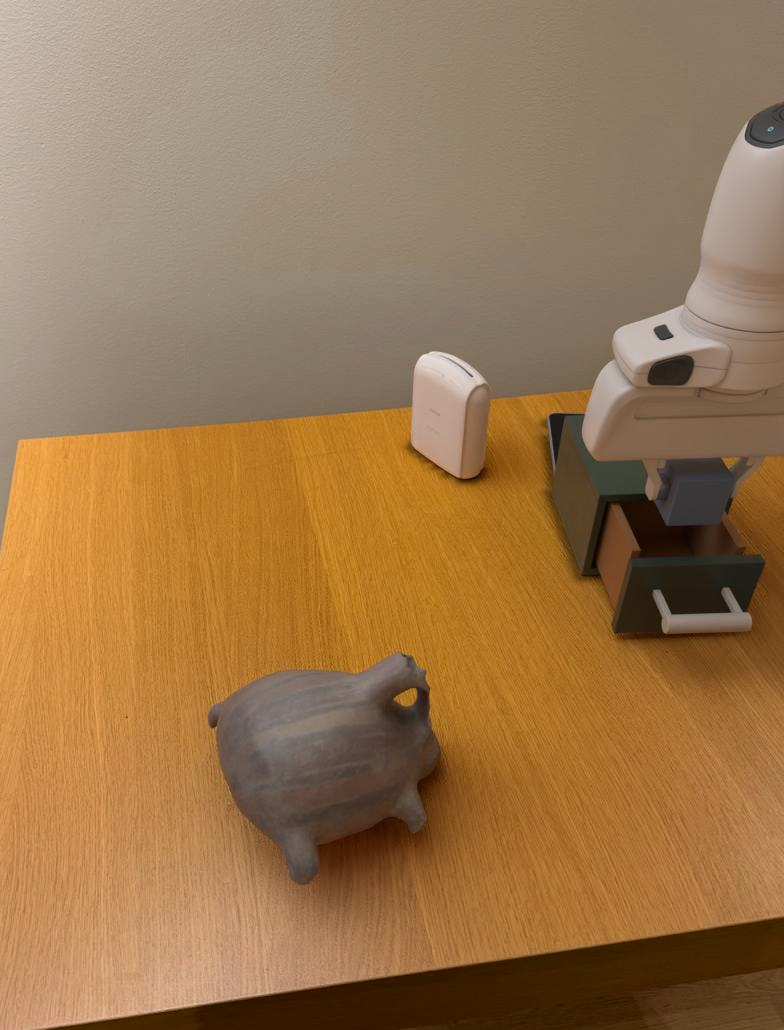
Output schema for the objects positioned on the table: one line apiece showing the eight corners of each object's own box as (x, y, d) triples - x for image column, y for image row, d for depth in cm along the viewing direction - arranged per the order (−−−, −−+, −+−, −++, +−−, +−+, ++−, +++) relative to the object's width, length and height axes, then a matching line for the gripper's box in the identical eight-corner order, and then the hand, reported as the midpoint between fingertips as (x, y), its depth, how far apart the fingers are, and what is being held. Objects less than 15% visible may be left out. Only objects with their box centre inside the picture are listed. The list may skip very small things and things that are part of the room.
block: (702, 494, 83) (716, 450, 80) (719, 524, 79) (735, 479, 76) (651, 496, 83) (663, 451, 80) (666, 526, 79) (680, 481, 76)
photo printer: (404, 445, 110) (409, 348, 102) (433, 434, 112) (440, 337, 103) (459, 485, 104) (468, 384, 95) (488, 473, 105) (500, 373, 97)
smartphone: (555, 481, 102) (546, 412, 113) (554, 488, 103) (545, 418, 113) (624, 484, 101) (609, 414, 112) (622, 491, 102) (607, 420, 113)
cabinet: (708, 571, 91) (736, 490, 85) (581, 575, 91) (599, 495, 85) (664, 489, 102) (686, 411, 95) (550, 493, 102) (564, 415, 96)
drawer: (760, 668, 80) (789, 600, 75) (629, 672, 80) (649, 605, 75) (691, 540, 94) (712, 475, 88) (579, 544, 94) (593, 479, 88)
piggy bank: (409, 678, 80) (462, 631, 67) (441, 867, 76) (505, 856, 62) (203, 699, 76) (216, 653, 63) (224, 897, 72) (244, 893, 59)
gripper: (853, 322, 73) (794, 471, 82) (594, 330, 73) (565, 478, 82) (891, 358, 68) (824, 512, 77) (615, 367, 68) (581, 520, 78)
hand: (689, 495), depth 80 cm, fingers closed on block, 4 cm apart
